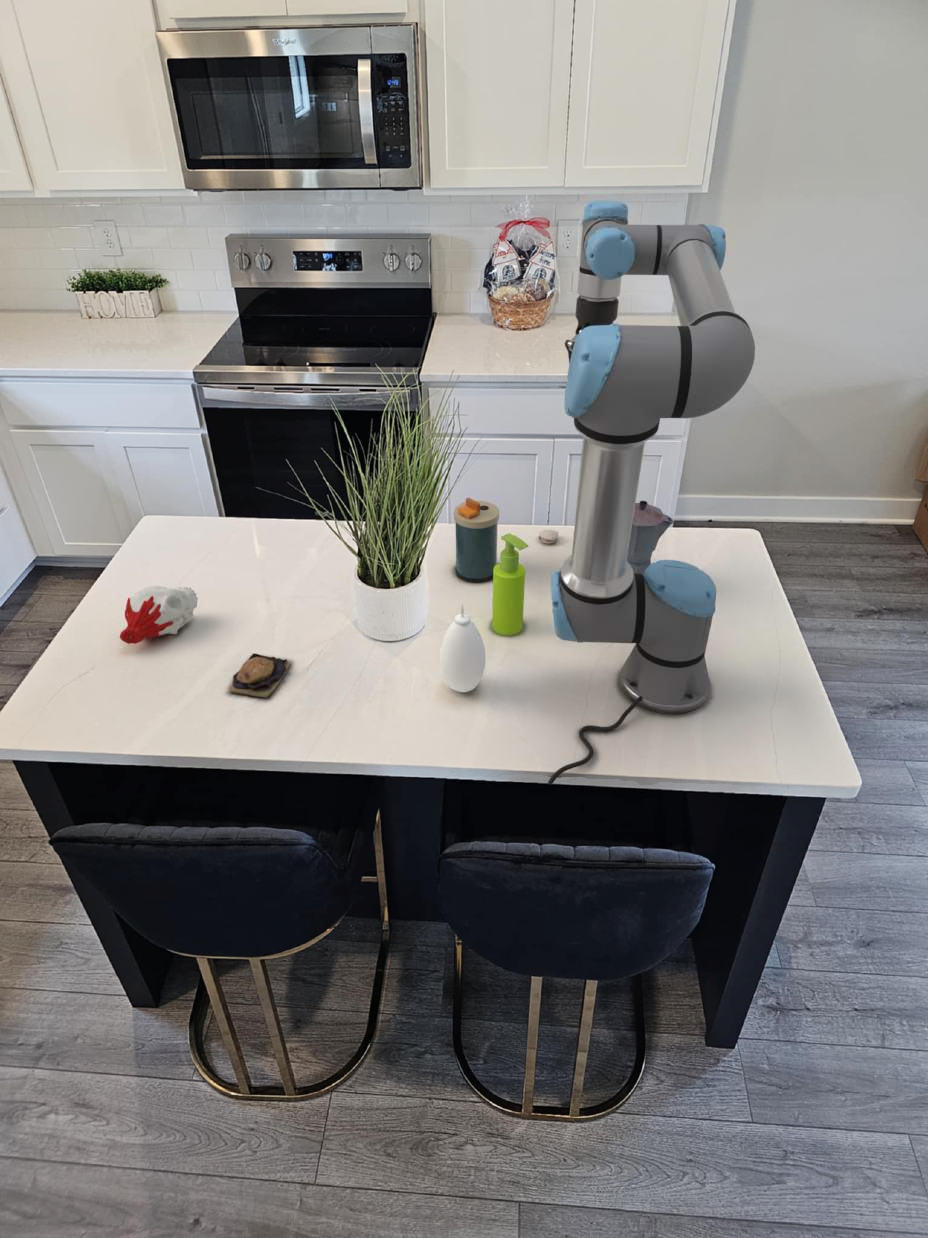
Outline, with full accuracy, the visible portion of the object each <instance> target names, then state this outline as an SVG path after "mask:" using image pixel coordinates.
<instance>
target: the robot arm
mask: <svg viewBox="0 0 928 1238" xmlns="http://www.w3.org/2000/svg"><path fill="white" fill-rule="evenodd" d="M628 217H629V207H628V205H627V204H626V203H625V202H623V201H617V200H608V199H607V200H592V201H589V202H587V203H586V205H585V206H584V212H583V218H582V221H581V225H582V230H581V242H580V260H579V270H578V282H577V294H578V297H577V298H576V303H575V304H576V305H575V318H576V320H577V327H576V329H575V331H574V332H575V335H574V336H573V337H572V339H566V340H565V341H564V347H565V348H566V351H567V354H568V356H567V357H568V369H567V377H566V378H567V380H566V383H565V384H566V385H565V390H564V412H565V414H566V415H567V416H568V417H571V418H573V425H574V428H575V429H576V431H577V432H578V433H579V434H580V435H581V436H582V444H581V445H582V446H581V456H580V464H579V465H580V466H579V474H578V475H579V477H578V487H577V498H576V508H575V519H574V529H573V539H572V547H571V548H572V550H571V554H570V555H569V556H568V557H566V559H564V560H563V563H562V564H561V567H560V569H558V570H554V571H552V573H551V575H550V589H551V590H550V591H551V602H552V603H551V605H552V620H553V628H554V633H555V635H556V637H557V638H558V639H560V640H562V641H567V642H575V643H578V644H579V643H581V644H582V643H601V644H602V643H607V644H608V643H609V644H634V646H633V648H632V649H631V651H630V653H629V655H628V657H626V660H625V661H624V663H623V665H622V667H621V669H620V678H619V684H620V688H621V690H622V692H623V693H624V695H625V696H626V697H627V698H628V699H629V700H630V701H631V702H632V703H631V704H630V705H629V706H628V707H627V708H626V709H625V710H624V711H623V712H622V714H621V715H620V717H619V719H618V720H617V721H616V722H615V723H614V724H612V725H610V726H598V725H585V726H582V727H581V729H580V730H579V732H578V736H579V739H580V740H581V741H582V743H583V744H584V745H585V747H586V748H587V750H588V754H587V755H586V756H585V757H584V758H583V759H581V760H578V761H575V762H574V761H573V762H571V763H569V764H566V765H564V766H561V767H560V768H558V769H557V770H556V771H555V772H554V773H553V774H552V775H551V776H550V778H549V780H548V781H547V784H548V785H553V784H554V783H555V781H556V779H557V778H558V777H559V776H560V775H562V774H563V773H565V772H567V771H569V770H571V769H575V768H578V767H581V766H584V765H586V764H587V763H589V762H590V761H591V760H592V759H593V756H594V754H595V752H594V748H593V745H591V743H590V742H589V740H588V739H587V738H586V736H585V735H584V734H585V732H587V731H595V732H611V731H614V730H616V729H617V728H618V727H620V726H621V725H622V723H623V722H624V720H625V719H626V718H627V716H628V715H629V714H631V712H632V711H633V710H634V709H635V708H636V707H637V706H639V707H641V708H643V709H646V710H648V711H651V712H655V713H658V714H659V713H661V714H667V715H676V714H678V715H679V714H684V713H689V712H691V711H695V710H696V709H699V707H701V706H702V705H703V704H704V703H705V701H706V700H707V698H708V696H709V692H710V686H711V681H710V676H709V670H708V665H707V661H706V660H707V659H706V652H707V651H706V650H707V646H708V640H709V636H710V631H711V626H712V621H713V616H714V614H715V612H716V601H717V600H716V599H717V586H716V585H715V582H714V581H713V579H712V578H711V576H709V575H708V573H706V572H705V571H704V570H702V569H700V568H698V567H697V566H695V565H694V564H690V563H687V562H685V561H682V560H681V561H680V560H675V559H659V560H657V561H656V562H651V564H650V565H649V566H648V567H647V569H646V570H645V573H644V574H639V573H634V572H633V569H632V567H631V565H630V564H629V563H628V562H627V554H628V548H629V541H630V535H631V528H632V522H633V515H634V509H635V503H637V495H638V490H639V489H638V488H639V483H640V477H641V471H642V470H641V469H642V462H643V456H644V450H645V445H646V444H645V443H646V442H647V441H649V440H651V439H653V438H654V437H655V436H656V435H657V433H658V432H659V427H660V423H661V422H660V420H661V419H693V418H699V417H702V416H703V417H704V416H706V415H709V414H710V413H712V412H714V411H717V410H718V409H720V408H721V407H723V406H724V405H726V404H727V403H728V402H729V401H731V400H732V399H733V398H734V397H735V396H736V395H737V394H738V392H739V391H740V390H741V389H742V388H743V387H744V385H745V384H746V382H747V380H748V378H749V376H750V375H751V372H752V369H753V367H754V363H755V357H756V356H755V355H756V345H755V340H754V336H753V332H752V329H751V328H750V326H749V323H748V322H747V320H746V319H745V318H744V317H743V316H742V315H740V314H739V313H737V312H736V311H735V308H734V305H733V302H732V300H731V297H730V294H729V292H728V288H727V286H726V283H725V281H724V278H723V275H722V273H721V270H722V268H723V265H724V263H725V262H724V261H725V258H726V249H727V241H726V237H727V236H726V235H727V234H726V232H725V230H724V228H723V227H721V226H719V225H711V224H710V225H708V224H705V223H699V224H629V220H628V219H629V218H628ZM623 276H668V280H669V284H670V288H671V292H672V296H673V300H674V305H675V308H676V312H677V317H678V322H679V325H641V324H640V325H638V324H619V323H617V322H616V323H614V322H615V321H616V320H617V319H618V313H619V303H620V301H619V299H618V297H619V296H620V295H621V285H622V284H621V283H622V277H623Z"/></svg>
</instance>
